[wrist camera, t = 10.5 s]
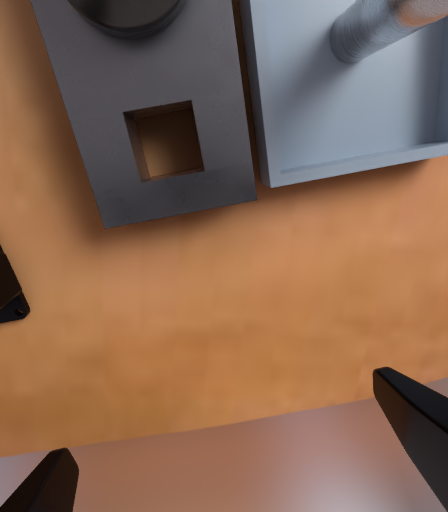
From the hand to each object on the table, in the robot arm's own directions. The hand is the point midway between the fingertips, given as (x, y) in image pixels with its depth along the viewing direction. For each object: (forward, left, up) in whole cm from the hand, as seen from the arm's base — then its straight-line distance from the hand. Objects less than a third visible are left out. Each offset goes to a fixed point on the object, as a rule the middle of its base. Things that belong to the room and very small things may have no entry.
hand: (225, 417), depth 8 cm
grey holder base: (-1, +11, -12) cm, 16 cm away
